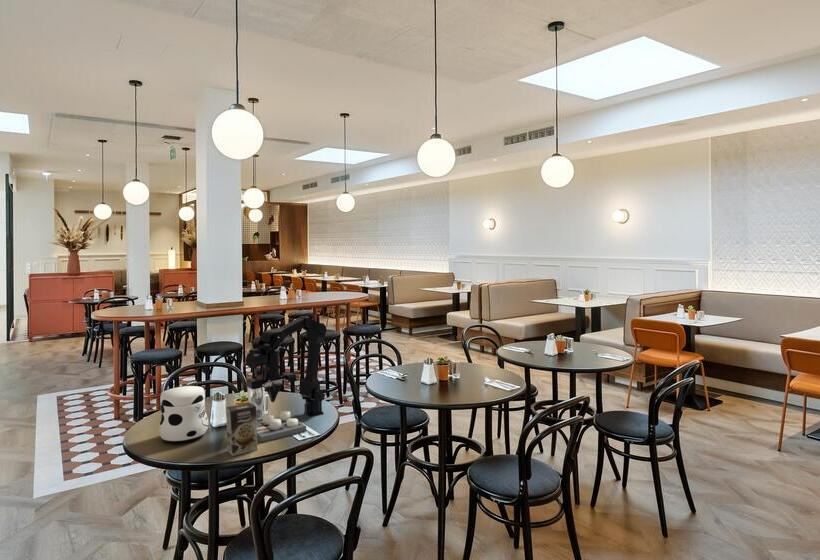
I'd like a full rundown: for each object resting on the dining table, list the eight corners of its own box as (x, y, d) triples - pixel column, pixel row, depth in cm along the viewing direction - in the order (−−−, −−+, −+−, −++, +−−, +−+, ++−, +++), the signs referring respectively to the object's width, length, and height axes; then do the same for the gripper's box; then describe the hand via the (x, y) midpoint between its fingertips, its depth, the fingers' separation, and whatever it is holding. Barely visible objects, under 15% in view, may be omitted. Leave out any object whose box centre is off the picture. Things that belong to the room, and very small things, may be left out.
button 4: (295, 424, 206) (295, 417, 206) (300, 427, 203) (299, 420, 203) (284, 427, 204) (284, 420, 204) (289, 430, 200) (289, 423, 200)
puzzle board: (288, 420, 215) (288, 413, 215) (306, 431, 202) (306, 424, 201) (245, 430, 204) (245, 423, 204) (261, 442, 191) (261, 435, 190)
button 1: (271, 420, 208) (271, 413, 207) (275, 423, 204) (275, 416, 204) (261, 423, 205) (260, 415, 205) (265, 426, 201) (264, 418, 201)
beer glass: (268, 415, 222) (266, 380, 221) (261, 420, 215) (260, 385, 214) (252, 414, 223) (251, 380, 221) (245, 420, 216) (244, 385, 215)
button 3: (287, 416, 212) (287, 409, 212) (292, 419, 208) (292, 412, 208) (277, 419, 209) (277, 411, 209) (282, 422, 206) (281, 414, 205)
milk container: (218, 434, 200) (216, 389, 199) (176, 449, 186) (173, 400, 184) (192, 426, 210) (189, 382, 208) (150, 440, 195) (147, 393, 194)
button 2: (278, 425, 202) (278, 417, 202) (283, 428, 199) (282, 420, 198) (267, 427, 199) (267, 420, 199) (272, 431, 196) (271, 423, 196)
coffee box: (232, 456, 179) (230, 411, 177) (226, 451, 184) (224, 406, 183) (258, 450, 184) (256, 406, 183) (252, 444, 189) (250, 401, 188)
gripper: (284, 356, 214) (285, 393, 215) (240, 363, 203) (241, 402, 204) (296, 360, 206) (297, 399, 207) (251, 367, 194) (253, 408, 195)
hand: (272, 401), depth 203 cm, fingers closed
